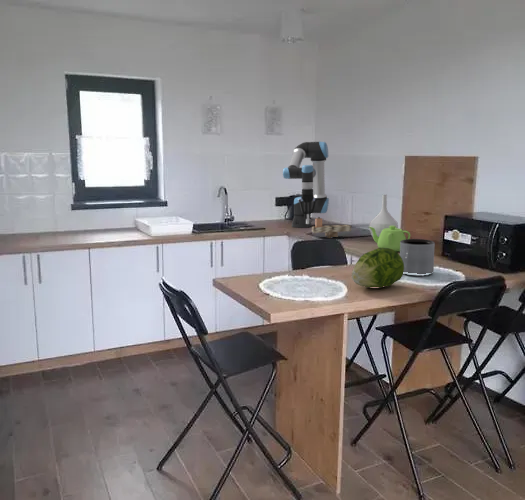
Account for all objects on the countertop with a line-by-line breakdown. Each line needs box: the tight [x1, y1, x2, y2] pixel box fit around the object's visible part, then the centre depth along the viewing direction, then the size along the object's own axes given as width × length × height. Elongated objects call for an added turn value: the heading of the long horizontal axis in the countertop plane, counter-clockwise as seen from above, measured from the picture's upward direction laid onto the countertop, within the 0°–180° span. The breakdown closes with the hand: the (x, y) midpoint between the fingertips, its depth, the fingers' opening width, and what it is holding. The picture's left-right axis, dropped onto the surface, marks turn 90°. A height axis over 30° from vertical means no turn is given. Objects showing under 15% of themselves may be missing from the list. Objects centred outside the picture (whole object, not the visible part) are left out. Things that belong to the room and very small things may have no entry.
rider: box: [314, 216, 323, 227], centre depth 351 cm, size 4×3×8 cm
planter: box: [399, 238, 436, 274], centre depth 249 cm, size 16×16×16 cm
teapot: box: [368, 226, 411, 253], centre depth 307 cm, size 19×20×14 cm
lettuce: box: [351, 247, 404, 288], centre depth 225 cm, size 17×23×17 cm
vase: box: [368, 194, 399, 238], centre depth 336 cm, size 18×18×30 cm
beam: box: [311, 224, 352, 239], centre depth 354 cm, size 26×8×8 cm, turn 101°
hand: (307, 223), depth 350 cm, fingers closed
